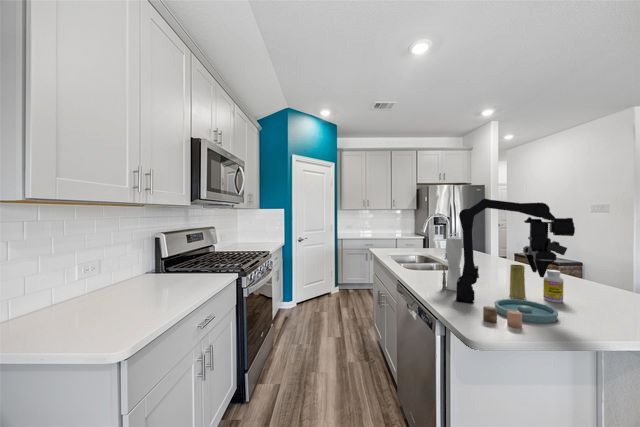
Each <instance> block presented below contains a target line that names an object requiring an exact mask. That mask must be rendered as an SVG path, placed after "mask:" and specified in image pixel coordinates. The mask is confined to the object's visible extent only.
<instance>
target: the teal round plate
mask: <svg viewBox="0 0 640 427" xmlns="http://www.w3.org/2000/svg"><path fill="white" fill-rule="evenodd" d="M494 308H496V309H497V314H499V315H501V316H503V317H506V318H507V311H517V312H520V313H522V322H524V323H525V322H526V323H533V324H553V323H555V322H557V321H558V317H559V311H558V310H557V309H556V308H555V307H551V306H549V305H547V304H544V303H540V302H537V301H531V300H526V299H516V298H503V299H497V300H496V301H494Z"/></svg>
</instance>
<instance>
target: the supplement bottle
mask: <svg viewBox="0 0 640 427" xmlns="http://www.w3.org/2000/svg"><path fill="white" fill-rule="evenodd" d="M543 300H545V301H547V302H551V303H562V302H564V279H563V277H561V271H560V270H557V269H547V270H546V274H545V275H544V277H543Z"/></svg>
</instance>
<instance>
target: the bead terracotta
mask: <svg viewBox="0 0 640 427" xmlns="http://www.w3.org/2000/svg"><path fill="white" fill-rule="evenodd" d="M506 319H507V320H506V322H507V323H506V324H507V325H506V326H508V327H510V328H513V329H522V328H523V321H522V313H520V312H517V311H507V317H506Z"/></svg>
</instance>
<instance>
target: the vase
mask: <svg viewBox="0 0 640 427" xmlns="http://www.w3.org/2000/svg"><path fill="white" fill-rule="evenodd" d="M525 268H526V267H525V265H523V264H517V263H515V264H510V274H509V275H510V276H509V278H510V279H509V297H510V298H511V299H518V300H526V298H527V297H526V284H525V281H526V278H525Z"/></svg>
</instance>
